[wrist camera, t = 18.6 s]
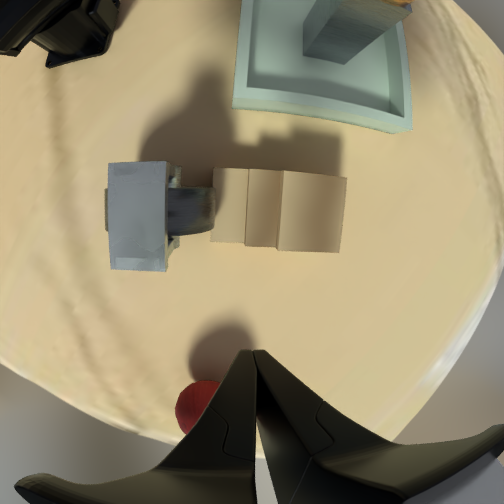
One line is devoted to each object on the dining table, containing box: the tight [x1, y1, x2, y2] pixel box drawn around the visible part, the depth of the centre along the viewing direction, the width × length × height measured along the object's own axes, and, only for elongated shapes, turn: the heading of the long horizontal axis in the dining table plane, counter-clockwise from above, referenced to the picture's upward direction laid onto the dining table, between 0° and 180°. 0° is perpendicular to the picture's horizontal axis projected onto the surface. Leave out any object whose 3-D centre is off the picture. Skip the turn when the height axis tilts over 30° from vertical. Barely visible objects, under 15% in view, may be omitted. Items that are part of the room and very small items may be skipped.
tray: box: [232, 0, 412, 134], centre depth 16 cm, size 14×14×3 cm
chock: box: [210, 168, 347, 253], centre depth 19 cm, size 8×5×4 cm, turn 87°
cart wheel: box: [105, 161, 216, 272], centre depth 16 cm, size 7×5×8 cm
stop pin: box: [303, 0, 414, 65], centre depth 12 cm, size 4×4×11 cm
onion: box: [175, 380, 220, 435], centre depth 21 cm, size 6×6×8 cm
